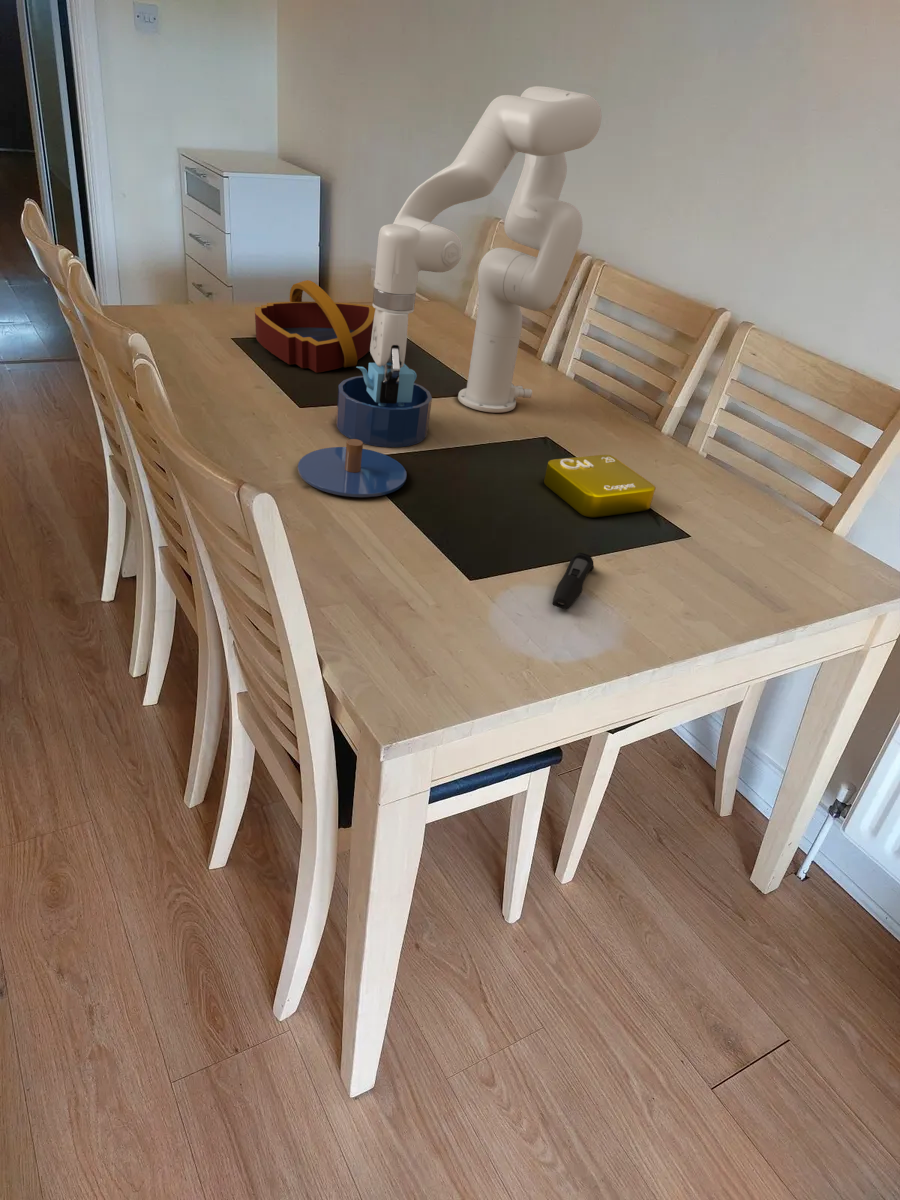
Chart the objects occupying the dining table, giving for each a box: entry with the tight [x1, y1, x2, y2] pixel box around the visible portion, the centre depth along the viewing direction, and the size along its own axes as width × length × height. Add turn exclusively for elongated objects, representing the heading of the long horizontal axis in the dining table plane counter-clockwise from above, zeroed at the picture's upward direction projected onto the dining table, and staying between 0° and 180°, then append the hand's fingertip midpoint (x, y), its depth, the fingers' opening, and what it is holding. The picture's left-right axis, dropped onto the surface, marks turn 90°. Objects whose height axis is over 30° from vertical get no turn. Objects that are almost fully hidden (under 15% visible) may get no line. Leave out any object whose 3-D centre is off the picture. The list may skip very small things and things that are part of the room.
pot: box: [335, 375, 433, 448], centre depth 167 cm, size 18×18×8 cm
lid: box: [297, 438, 407, 498], centre depth 148 cm, size 19×19×6 cm
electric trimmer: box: [551, 552, 595, 611], centre depth 127 cm, size 4×16×3 cm, turn 159°
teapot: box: [355, 362, 418, 406], centre depth 164 cm, size 12×6×8 cm, turn 111°
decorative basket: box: [254, 279, 376, 374], centre depth 200 cm, size 34×29×15 cm
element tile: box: [543, 454, 656, 519], centre depth 155 cm, size 15×15×5 cm
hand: (384, 394), depth 165 cm, fingers closed on teapot, 6 cm apart
